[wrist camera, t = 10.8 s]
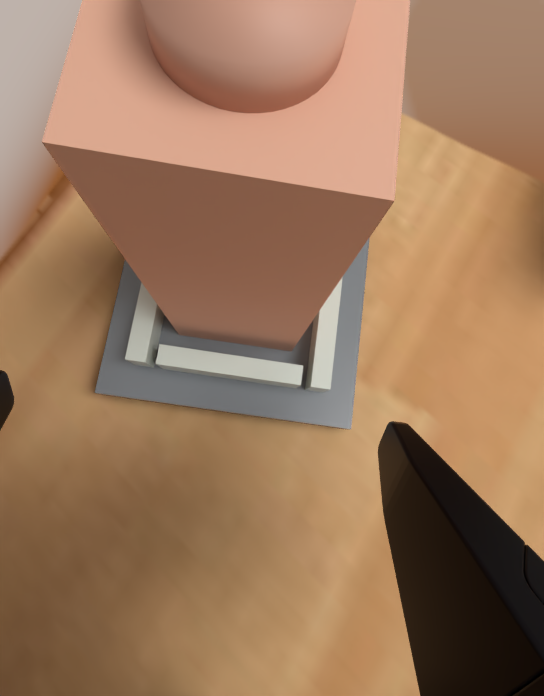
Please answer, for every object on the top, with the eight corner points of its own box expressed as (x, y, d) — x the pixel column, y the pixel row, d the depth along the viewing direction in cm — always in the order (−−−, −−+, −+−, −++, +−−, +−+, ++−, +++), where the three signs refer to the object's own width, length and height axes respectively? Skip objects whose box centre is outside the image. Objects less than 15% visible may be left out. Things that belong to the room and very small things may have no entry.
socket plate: (343, 428, 18) (361, 429, 15) (104, 394, 18) (80, 389, 15) (365, 214, 20) (383, 182, 18) (152, 178, 20) (139, 140, 17)
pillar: (291, 351, 17) (419, 164, 5) (178, 335, 17) (7, 93, 5) (304, 247, 18) (438, -130, 6) (198, 230, 18) (101, -200, 6)
